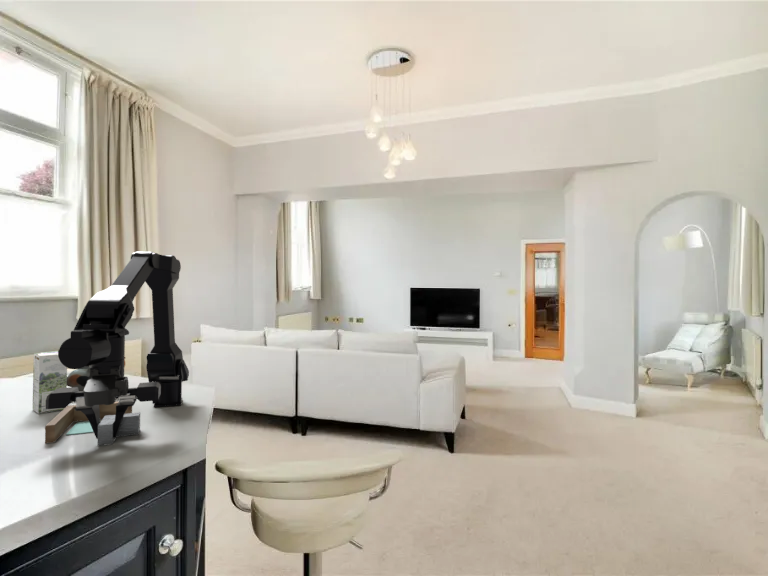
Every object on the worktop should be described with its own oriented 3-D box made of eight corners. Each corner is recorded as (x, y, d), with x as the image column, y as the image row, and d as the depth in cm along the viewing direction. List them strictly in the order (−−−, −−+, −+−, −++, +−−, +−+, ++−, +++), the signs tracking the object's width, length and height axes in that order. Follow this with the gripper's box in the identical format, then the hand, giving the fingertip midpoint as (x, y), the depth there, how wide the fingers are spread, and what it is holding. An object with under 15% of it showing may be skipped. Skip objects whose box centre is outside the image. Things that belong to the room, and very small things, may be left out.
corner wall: (132, 414, 103) (132, 400, 103) (121, 435, 89) (121, 418, 89) (67, 420, 98) (67, 405, 98) (45, 443, 84) (45, 425, 84)
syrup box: (60, 405, 110) (61, 350, 110) (66, 409, 106) (67, 352, 106) (32, 410, 106) (33, 352, 106) (38, 414, 102) (39, 354, 102)
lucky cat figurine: (79, 387, 129) (106, 346, 134) (115, 403, 129) (141, 361, 134) (49, 383, 115) (80, 337, 119) (89, 401, 115) (119, 355, 120)
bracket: (104, 434, 89) (105, 415, 89) (140, 430, 92) (140, 412, 92) (97, 445, 83) (97, 425, 83) (135, 441, 85) (135, 421, 85)
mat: (66, 435, 88) (66, 434, 88) (77, 423, 96) (77, 422, 96) (116, 430, 92) (116, 429, 92) (122, 418, 100) (122, 418, 100)
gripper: (35, 370, 74) (34, 459, 74) (156, 363, 81) (155, 444, 81) (55, 359, 84) (54, 438, 84) (161, 355, 91) (160, 427, 91)
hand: (106, 437), depth 85 cm, fingers closed on bracket, 2 cm apart
